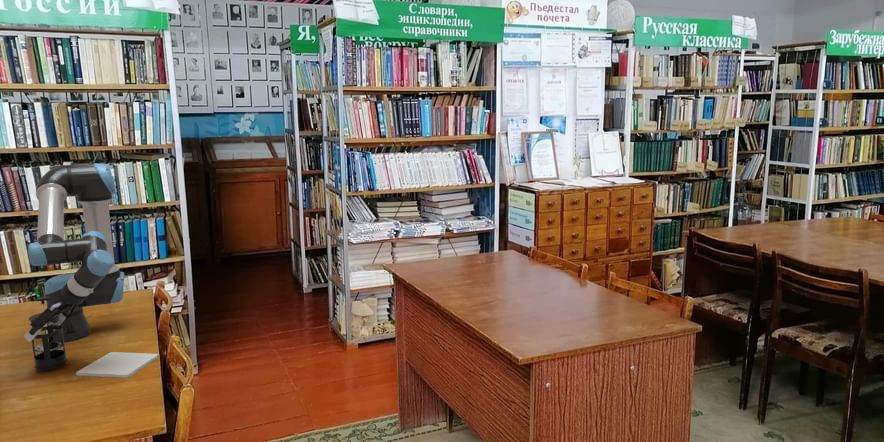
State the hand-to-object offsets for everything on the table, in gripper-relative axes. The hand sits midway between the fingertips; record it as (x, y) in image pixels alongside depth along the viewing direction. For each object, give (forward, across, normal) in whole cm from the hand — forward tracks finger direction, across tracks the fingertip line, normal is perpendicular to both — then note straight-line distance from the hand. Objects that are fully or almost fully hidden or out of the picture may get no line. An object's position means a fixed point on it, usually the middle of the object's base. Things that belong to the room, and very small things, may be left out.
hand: (39, 333), depth 218 cm
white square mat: (-10, +3, -26) cm, 28 cm away
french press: (+5, 0, -10) cm, 11 cm away
